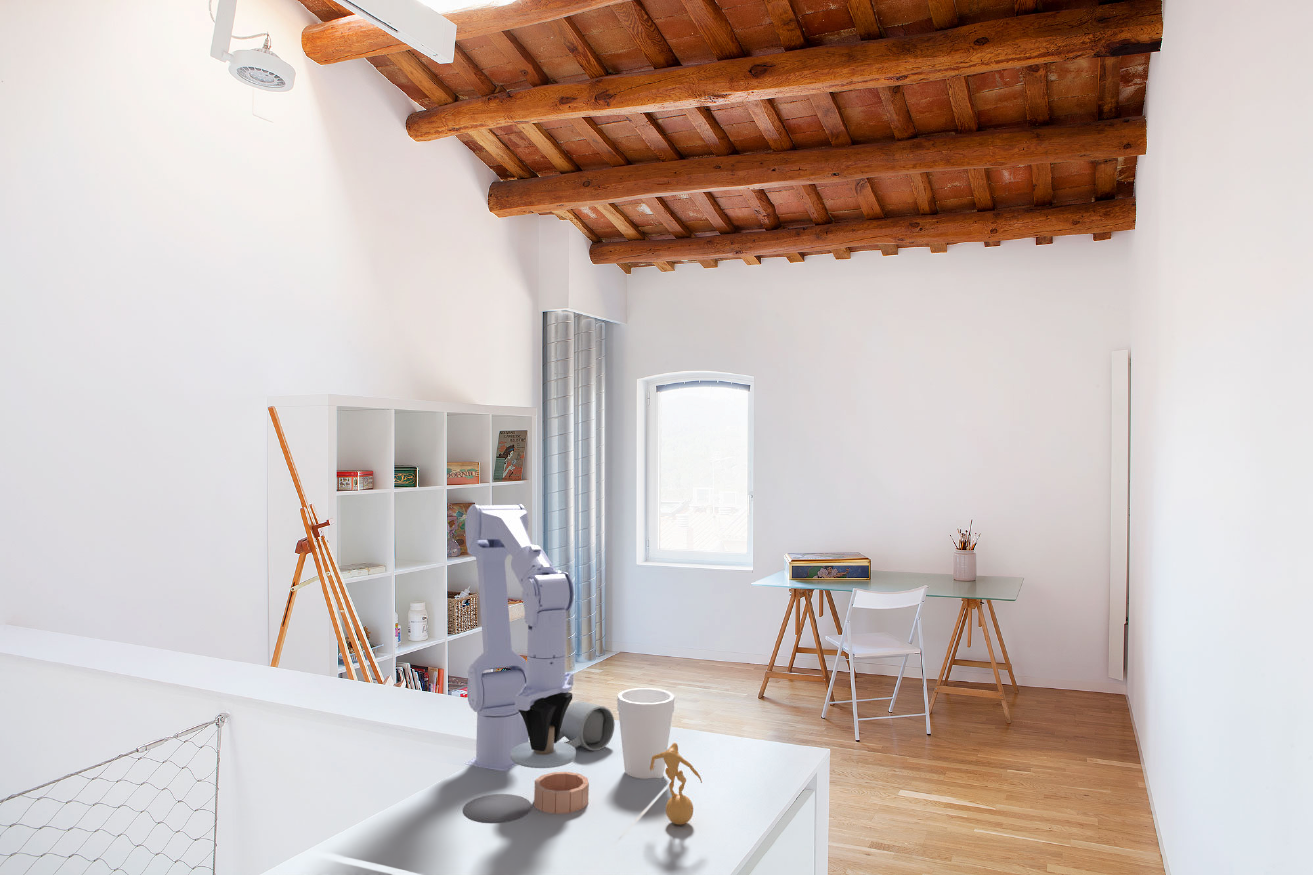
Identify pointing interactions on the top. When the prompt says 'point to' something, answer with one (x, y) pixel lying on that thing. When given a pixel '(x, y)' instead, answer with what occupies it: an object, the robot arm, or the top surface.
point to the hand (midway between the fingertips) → (544, 745)
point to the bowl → (561, 792)
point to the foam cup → (644, 729)
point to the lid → (544, 754)
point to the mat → (497, 808)
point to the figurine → (679, 805)
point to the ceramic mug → (587, 725)
